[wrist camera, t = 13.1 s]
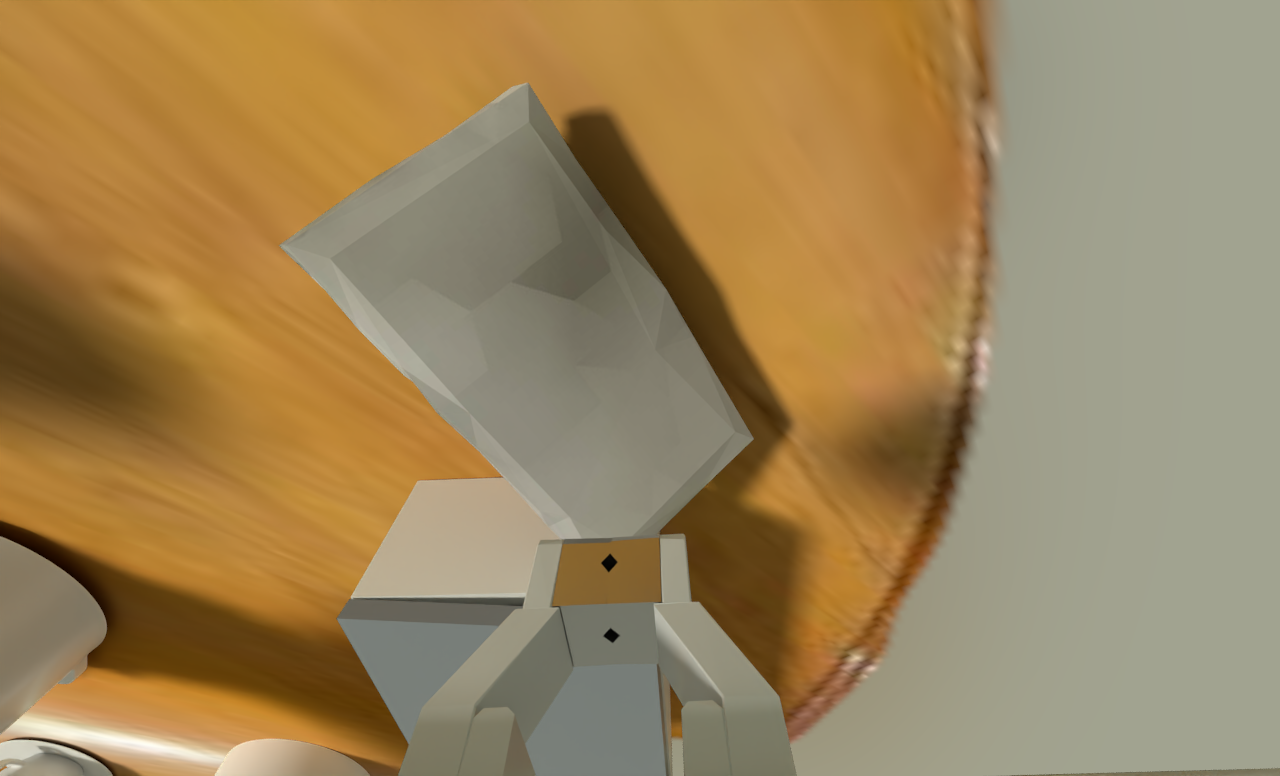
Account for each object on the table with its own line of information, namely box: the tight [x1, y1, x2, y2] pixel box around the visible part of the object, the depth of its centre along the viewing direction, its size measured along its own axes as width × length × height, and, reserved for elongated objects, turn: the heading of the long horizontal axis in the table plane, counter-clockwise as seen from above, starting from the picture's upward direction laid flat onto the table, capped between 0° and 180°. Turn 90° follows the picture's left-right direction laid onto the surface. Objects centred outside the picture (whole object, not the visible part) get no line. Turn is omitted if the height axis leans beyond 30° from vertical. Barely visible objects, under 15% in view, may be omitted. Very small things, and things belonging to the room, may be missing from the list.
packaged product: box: [279, 83, 754, 539], centre depth 22 cm, size 18×5×10 cm
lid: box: [337, 599, 669, 776], centre depth 28 cm, size 14×22×1 cm, turn 4°
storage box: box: [351, 477, 672, 776], centre depth 33 cm, size 14×22×8 cm, turn 4°
